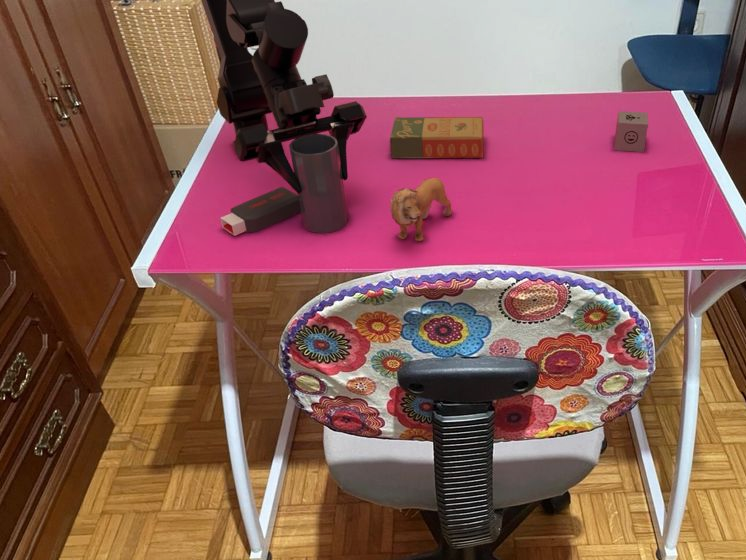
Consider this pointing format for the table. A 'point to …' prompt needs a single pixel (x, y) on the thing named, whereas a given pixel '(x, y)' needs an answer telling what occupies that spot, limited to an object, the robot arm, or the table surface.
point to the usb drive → (261, 211)
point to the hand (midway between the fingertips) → (323, 185)
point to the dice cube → (631, 131)
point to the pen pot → (319, 182)
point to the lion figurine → (417, 205)
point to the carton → (437, 137)
